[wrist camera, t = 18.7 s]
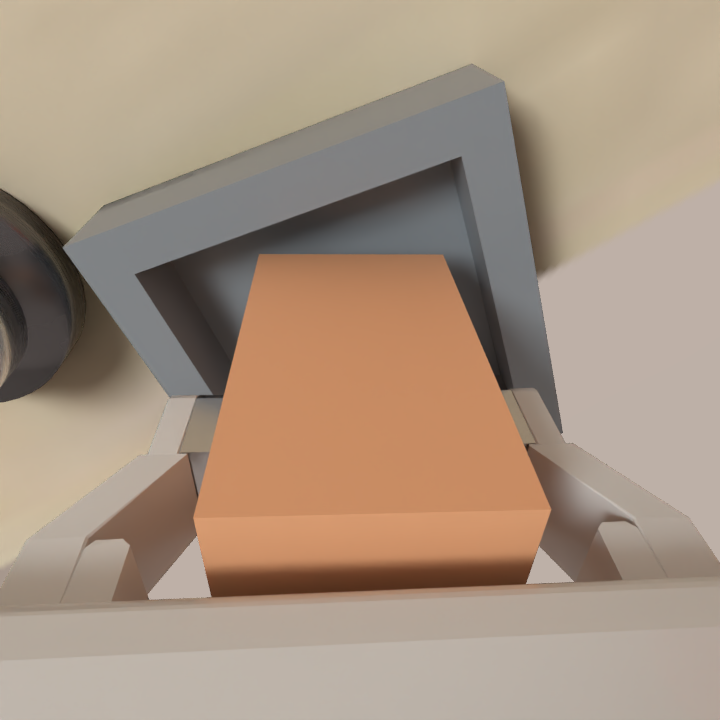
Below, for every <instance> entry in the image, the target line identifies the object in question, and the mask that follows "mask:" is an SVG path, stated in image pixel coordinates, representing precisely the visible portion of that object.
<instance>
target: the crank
mask: <svg viewBox="0 0 720 720" xmlns="http://www.w3.org/2000/svg"><path fill="white" fill-rule="evenodd" d="M27 341H28V329H27V324H26V319H25V316H24V313H23V310H22V308H21V306H20V304H19V302H18V300H17V298H16V296H15V295H14V293H13V292H12V290H11V289H10V287H9V286H8V285H7V284H6V283H5V281H4V280H3V279H2V278H1V277H0V387H1V386H2V385H3V383H4V382H5V381H6V380H7V378H8V377H9V376H10V375H11V373H12V372H13V371H14V370H15V368H16V367H17V366H18V364H19V363H20V361H21V360H22V358H23V356H24V353H25V351H26V347H27Z"/></svg>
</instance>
